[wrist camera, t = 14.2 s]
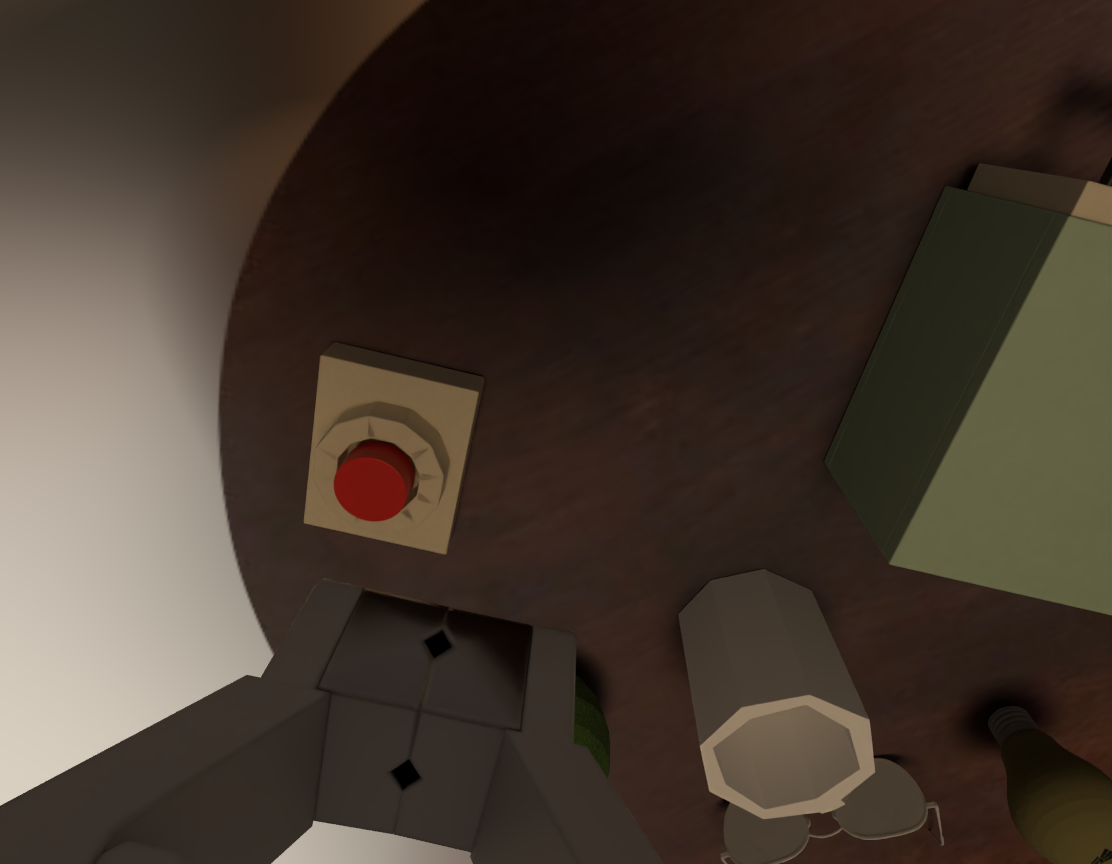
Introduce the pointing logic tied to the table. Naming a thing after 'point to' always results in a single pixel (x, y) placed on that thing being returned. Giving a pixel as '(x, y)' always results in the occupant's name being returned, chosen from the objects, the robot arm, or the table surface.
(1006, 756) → the light bulb
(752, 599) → the mug
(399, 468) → the button
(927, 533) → the cabinet
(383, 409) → the button block
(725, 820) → the sunglasses
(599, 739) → the fruit
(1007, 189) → the drawer
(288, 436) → the table surface
